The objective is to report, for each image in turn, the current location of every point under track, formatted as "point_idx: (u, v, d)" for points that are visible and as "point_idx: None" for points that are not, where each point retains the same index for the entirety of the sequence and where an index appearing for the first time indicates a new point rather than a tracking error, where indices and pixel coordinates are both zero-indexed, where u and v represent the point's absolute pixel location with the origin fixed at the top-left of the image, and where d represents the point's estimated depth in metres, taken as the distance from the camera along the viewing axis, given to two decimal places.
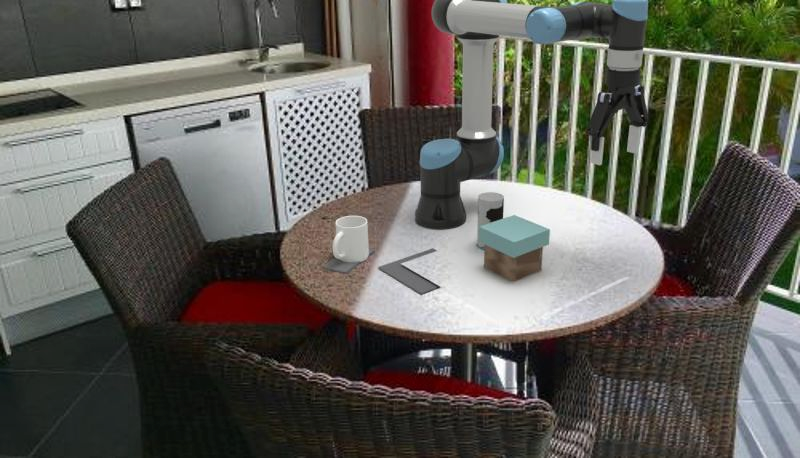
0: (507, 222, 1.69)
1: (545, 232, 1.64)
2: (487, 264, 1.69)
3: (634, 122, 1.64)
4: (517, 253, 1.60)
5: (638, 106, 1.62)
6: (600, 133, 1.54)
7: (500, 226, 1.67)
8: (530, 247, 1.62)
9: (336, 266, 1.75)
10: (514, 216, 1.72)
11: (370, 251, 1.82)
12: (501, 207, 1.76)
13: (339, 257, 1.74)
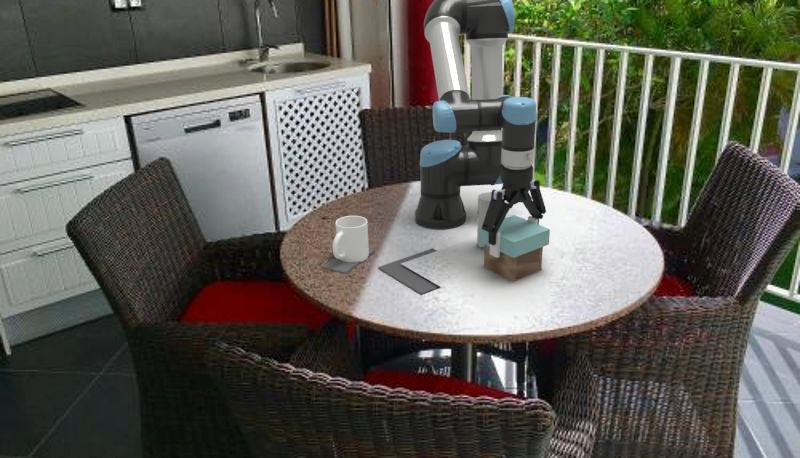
0: (507, 222, 1.69)
1: (545, 232, 1.64)
2: (487, 264, 1.69)
3: (532, 213, 1.69)
4: (517, 253, 1.60)
5: (535, 199, 1.67)
6: (495, 229, 1.60)
7: (500, 226, 1.67)
8: (530, 247, 1.62)
9: (336, 266, 1.75)
10: (514, 216, 1.72)
11: (370, 251, 1.82)
12: None
13: (339, 257, 1.74)
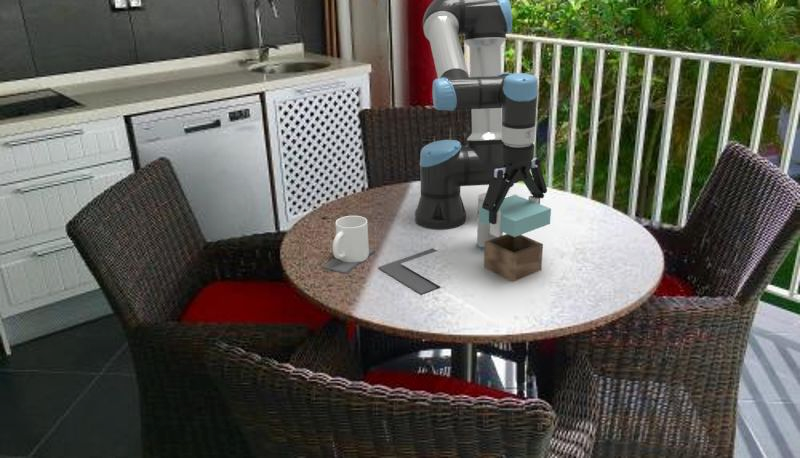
0: (507, 201, 1.67)
1: (546, 211, 1.62)
2: (487, 264, 1.69)
3: (533, 193, 1.67)
4: (518, 232, 1.58)
5: (536, 178, 1.65)
6: (496, 208, 1.58)
7: None
8: (531, 227, 1.60)
9: (336, 266, 1.75)
10: (515, 196, 1.70)
11: (370, 251, 1.82)
12: None
13: (339, 257, 1.74)
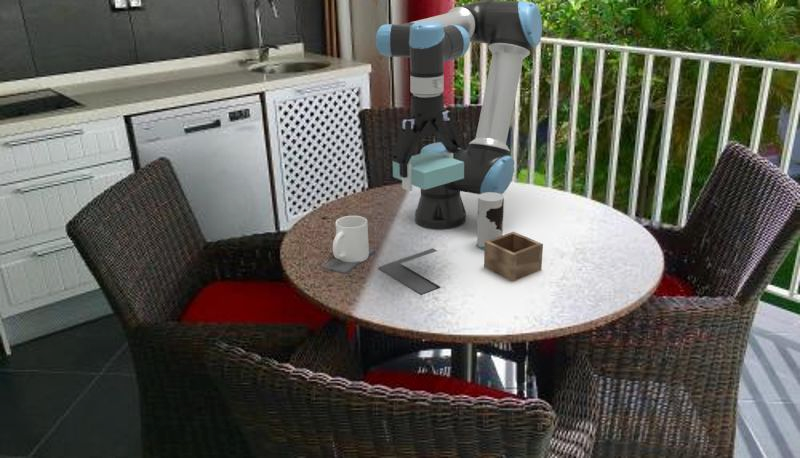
0: (422, 157, 1.64)
1: (459, 165, 1.59)
2: (487, 264, 1.69)
3: (447, 148, 1.64)
4: (428, 185, 1.55)
5: (450, 132, 1.62)
6: (406, 160, 1.55)
7: (414, 160, 1.62)
8: (442, 180, 1.57)
9: (336, 266, 1.75)
10: (431, 152, 1.67)
11: (370, 251, 1.82)
12: (501, 207, 1.76)
13: (339, 257, 1.74)
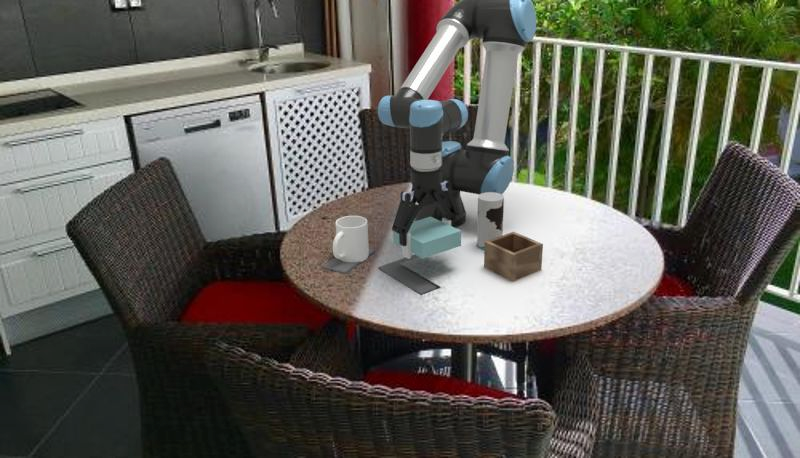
0: (421, 223, 1.71)
1: (456, 233, 1.65)
2: (487, 264, 1.69)
3: (446, 215, 1.71)
4: (426, 254, 1.62)
5: (448, 200, 1.69)
6: (405, 230, 1.62)
7: (413, 227, 1.69)
8: (440, 249, 1.64)
9: (336, 266, 1.75)
10: (430, 218, 1.74)
11: (370, 251, 1.82)
12: (501, 207, 1.76)
13: (339, 257, 1.74)
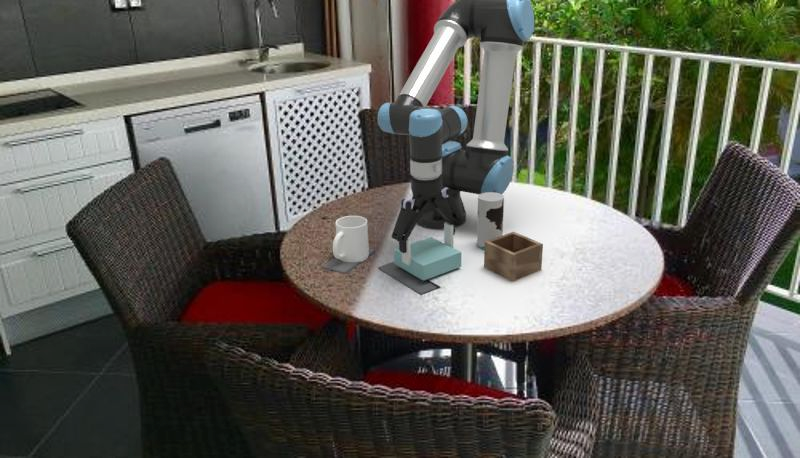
0: (422, 244, 1.73)
1: (456, 255, 1.68)
2: (487, 264, 1.69)
3: (448, 220, 1.72)
4: (427, 276, 1.64)
5: (449, 206, 1.70)
6: (405, 237, 1.63)
7: (414, 248, 1.71)
8: (441, 270, 1.66)
9: (336, 266, 1.75)
10: (430, 238, 1.77)
11: (370, 251, 1.82)
12: (501, 207, 1.76)
13: (339, 257, 1.74)
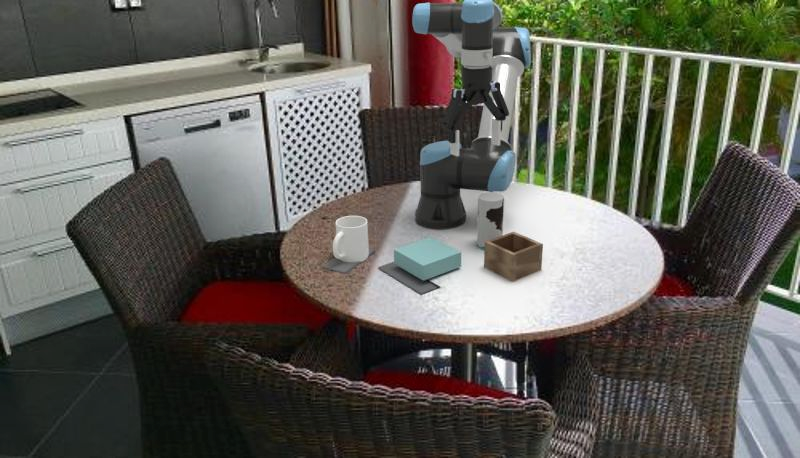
0: (422, 244, 1.73)
1: (456, 255, 1.68)
2: (487, 264, 1.69)
3: (495, 116, 1.75)
4: (427, 276, 1.64)
5: (497, 101, 1.73)
6: (454, 126, 1.66)
7: (414, 248, 1.71)
8: (441, 270, 1.66)
9: (336, 266, 1.75)
10: (430, 238, 1.77)
11: (370, 251, 1.82)
12: (501, 207, 1.76)
13: (339, 257, 1.74)
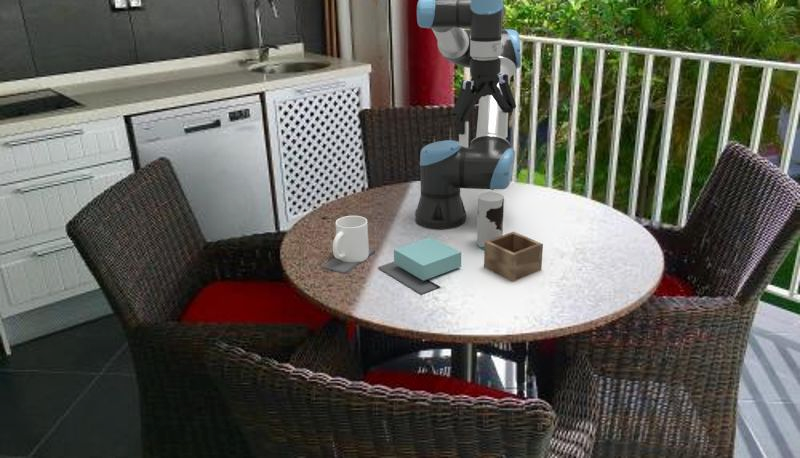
0: (422, 244, 1.73)
1: (456, 255, 1.68)
2: (487, 264, 1.69)
3: (502, 108, 1.77)
4: (427, 276, 1.64)
5: (505, 93, 1.75)
6: (464, 118, 1.67)
7: (414, 248, 1.71)
8: (441, 270, 1.66)
9: (336, 266, 1.75)
10: (430, 238, 1.77)
11: (370, 251, 1.82)
12: (501, 207, 1.76)
13: (339, 257, 1.74)
